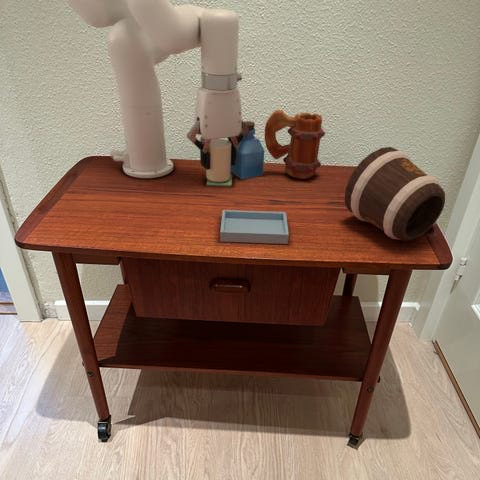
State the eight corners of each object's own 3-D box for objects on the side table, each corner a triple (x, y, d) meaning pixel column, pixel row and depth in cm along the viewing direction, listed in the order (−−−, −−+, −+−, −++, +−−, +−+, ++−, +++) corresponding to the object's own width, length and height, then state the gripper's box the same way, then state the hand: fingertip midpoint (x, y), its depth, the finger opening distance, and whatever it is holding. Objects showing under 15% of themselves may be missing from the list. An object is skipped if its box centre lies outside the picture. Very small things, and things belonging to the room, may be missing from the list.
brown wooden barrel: (328, 201, 86) (378, 242, 77) (376, 132, 80) (436, 167, 71) (377, 225, 100) (423, 261, 91) (420, 167, 93) (475, 200, 85)
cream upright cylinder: (205, 181, 101) (204, 147, 96) (207, 171, 106) (206, 138, 101) (230, 182, 101) (231, 148, 96) (231, 172, 106) (231, 139, 101)
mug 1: (318, 170, 111) (328, 108, 101) (319, 183, 105) (330, 118, 95) (262, 166, 112) (266, 104, 102) (260, 179, 106) (265, 114, 96)
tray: (220, 241, 83) (220, 231, 81) (222, 218, 90) (222, 209, 88) (287, 244, 83) (288, 234, 81) (284, 221, 90) (285, 212, 88)
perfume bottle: (241, 179, 105) (242, 128, 97) (230, 170, 109) (230, 121, 101) (262, 175, 107) (266, 125, 100) (251, 166, 112) (253, 118, 104)
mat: (206, 185, 102) (206, 183, 102) (208, 175, 106) (208, 173, 106) (231, 186, 102) (231, 184, 102) (232, 176, 106) (232, 174, 106)
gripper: (245, 74, 96) (242, 155, 108) (174, 80, 89) (178, 165, 101) (262, 82, 91) (257, 165, 103) (188, 89, 84) (191, 177, 96)
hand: (218, 164), depth 102 cm, fingers closed on cream upright cylinder, 6 cm apart
